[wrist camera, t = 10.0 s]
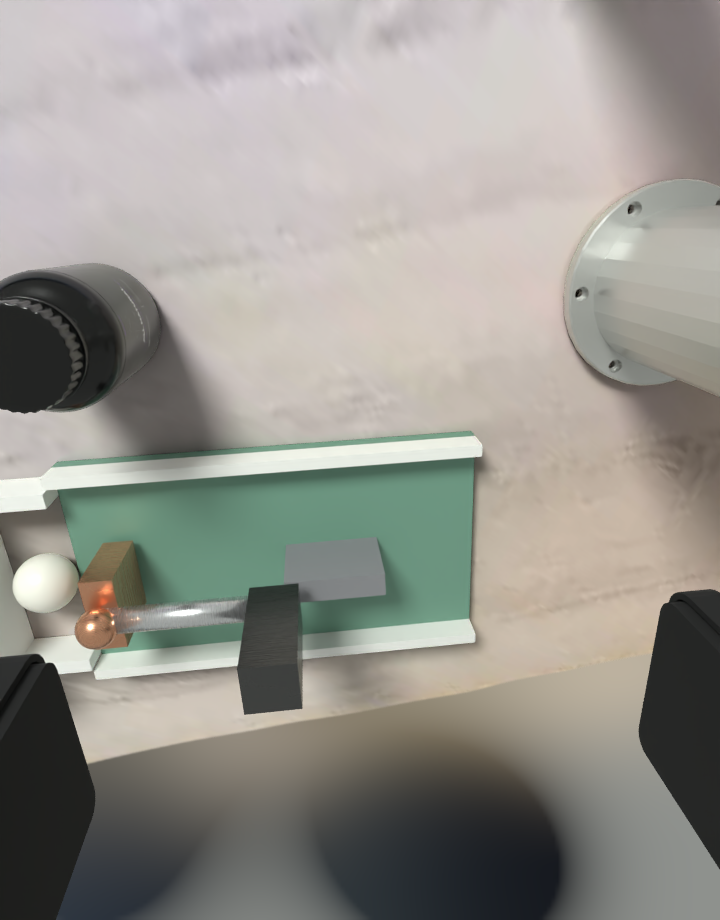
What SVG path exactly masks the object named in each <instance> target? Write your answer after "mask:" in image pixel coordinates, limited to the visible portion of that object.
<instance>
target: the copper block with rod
mask: <svg viewBox="0 0 720 920" xmlns="http://www.w3.org/2000/svg"><path fill="white" fill-rule="evenodd" d="M77 584H78V588H79V591H80V595H81V599H82V602H83V606H84V609H85V613H84V614H82V615H81V616H80V618H79V619H78V621H77V623H76V625H75V637H76V639H77V641H78V642H79V644H80V645H82V646H83V647H85V648H87V649H93V650H95V649H96V650H99V649H110V648H120V647H128V645H129V643H130V640H131V638H132V636H133V633H135V632H146V631H157V630H167V629H178V628H188V627H199V626H210V625H220V624H231V623H242V622H244V626H243V633H242V640H241V646H240V653H239V660H238V667H237V672H238V678H239V684H240V690H241V696H242V703H243V709H244V715H246V714H256V713H265V712H275V711H284V710H294V709H302V669H303V622H302V612H301V603H300V593H299V583H297V584H286V585H275V586H264V587H253V588H249V593H248V595H245V596H234V597H223V598H212V599H201V600H190V601H180V602H169V603H158V604H147V605H145V604H146V602H147V601H146V596H145V592H144V587H143V583H142V578H141V574H140V569H139V565H138V561H137V556H136V552H135V547H134V543H133V540H132V541H120V542H108V543H103V544H102V545H101V547H100V548H99V550H98V552H97V553H96V555H95V556H94V558H93V559H92V561H91V563H90V564H89V566H88V567H87V569H86V571H85V572H84V574H83V575H82V577H81V579H80V580H79V582H78V583H77Z"/></svg>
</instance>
